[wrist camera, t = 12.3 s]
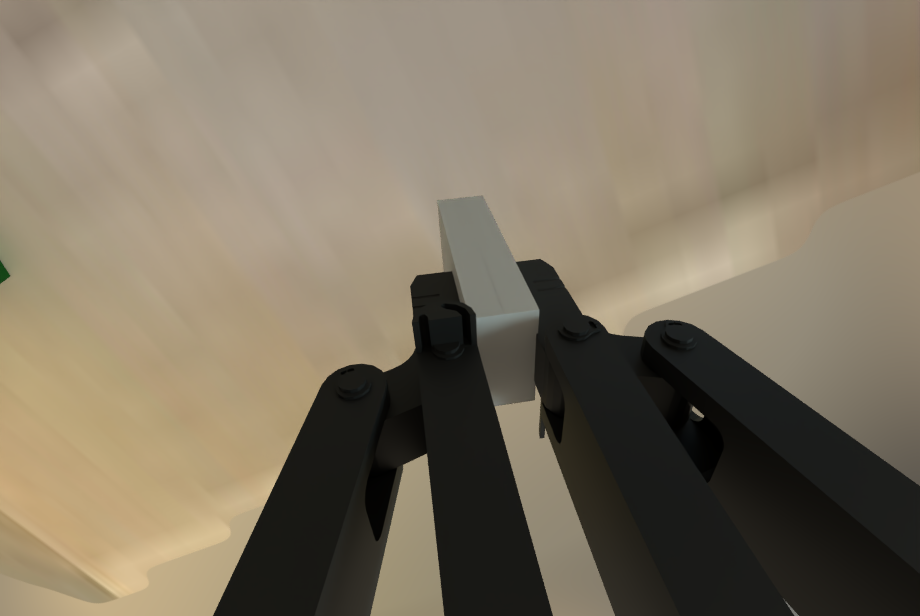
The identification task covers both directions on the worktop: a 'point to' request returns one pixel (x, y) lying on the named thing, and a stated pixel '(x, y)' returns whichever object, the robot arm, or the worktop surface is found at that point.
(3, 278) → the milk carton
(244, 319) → the worktop surface
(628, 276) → the worktop surface
